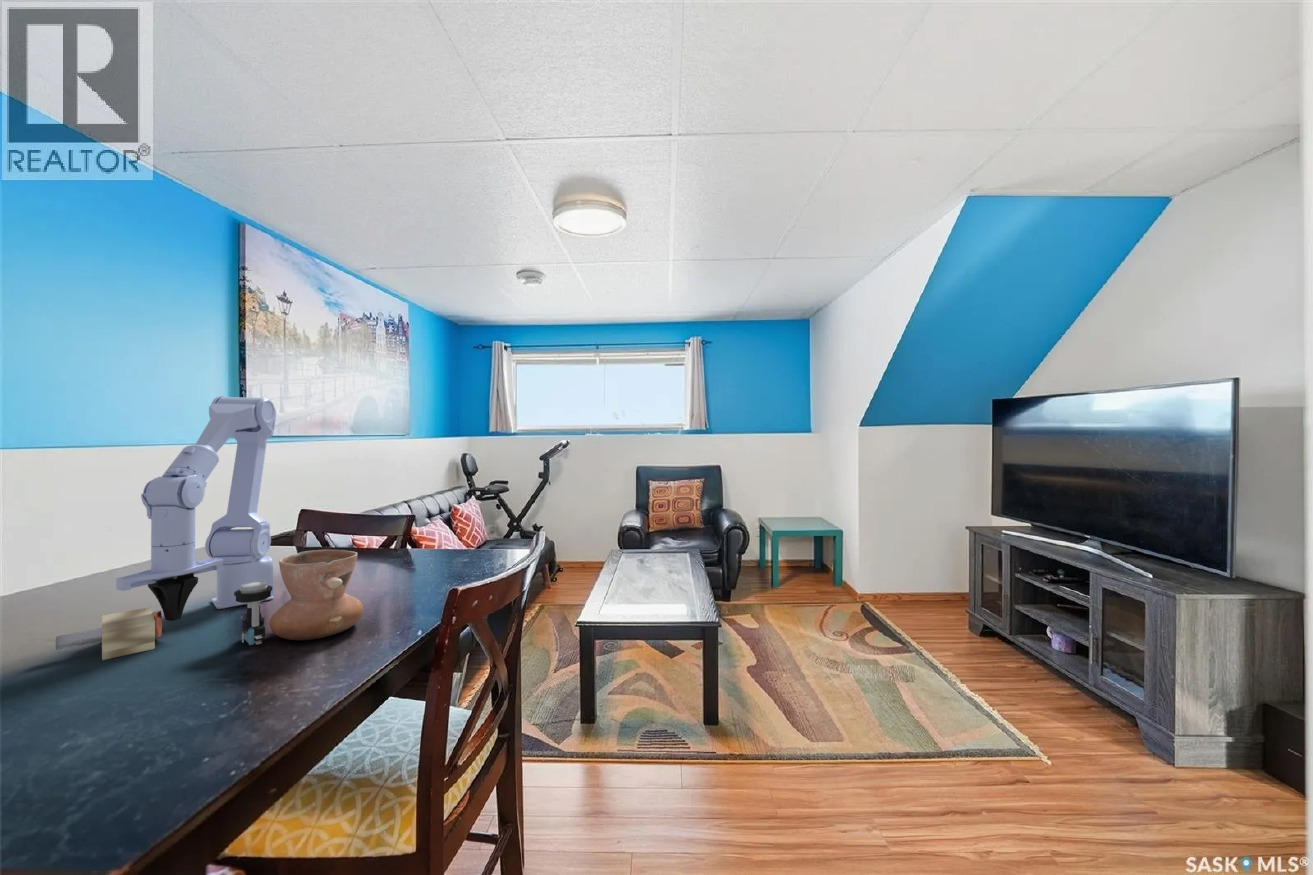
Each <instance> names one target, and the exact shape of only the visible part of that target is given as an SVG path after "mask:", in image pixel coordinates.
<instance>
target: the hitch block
mask: <svg viewBox="0 0 1313 875" xmlns="http://www.w3.org/2000/svg"><path fill="white" fill-rule="evenodd" d="M101 628H102V642H101V659H102V661H106V660H110V659H113V658H117V657H118V658H119V657H123V656H128V655H132V654H136V653H141V652H146V651H151V650H154V649H156V641H155V640H156V637H155V620H154V617H153V609H152V607H151V606H149V607H142V608H138V609H134V610H133V609H132V610H126V611H121V612H120V611H119V612H116V613H108V614H104V615H101Z"/></svg>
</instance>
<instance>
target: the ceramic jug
mask: <svg viewBox="0 0 1313 875" xmlns="http://www.w3.org/2000/svg"><path fill="white" fill-rule="evenodd" d="M357 561H358V552H356V551H352V550H346V549H318V550H315V549H313V550H305V551H300V552H298V553H297V552H296V553H290V554H287V555H285V556H283V557H280V559H279V561H278V565H279V570H280V575H281V579H282V581H283V584H284V586H285V588H286V591H287V592H288V593H289V595H290V597H291V598H290V599H289V600H288V601H287V602H286V603H284V604H283V605H282V606H280V607H279V608H278V609H276V611H275V612H273V614H272V615H271V617H270V619H269V628H270V630H271V632H272V633H273V634H274V635H276V636H277V637H279V638H282V639H285V640H291V641H311V640H317V639H324V638H326V637H330V636H335V635H336V634H337V635H338V634H339V633H342V632H344V631H346V630H348V629H350V628H351V627H353V626H354V625H356V624H357V623H358V622H359V621H360V619H361V618H362V616H363V614H364V609H365V608H364V605H363V602H361V601H360V600H359V599H358V598H357V597H355V596H353V595H350V594H349V593H346V589H347V587H348V585H349V583H350V580H351V578H352V576H353V573H354V571H355V568H356V564H357Z"/></svg>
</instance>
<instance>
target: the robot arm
mask: <svg viewBox="0 0 1313 875" xmlns="http://www.w3.org/2000/svg"><path fill="white" fill-rule="evenodd" d="M276 410H277V409H276V408H275V405H274V403H273V401H272V400H271V399H270V398H269V397H266V396H265V397H263V396H261V397H242V396H241V397H240V396H224V395H223V396H222V395H218V396H216V397H215V398H214V399H213V400H212V401H211V404H210V405H208V415H209V421H208V423H207V424H206V425H205V427H204V429H203V431H202V433H201V435H200V436H199V438H198V439H197V441H196V442H195V444H190V445H187V446H185V447H184V448H182V450H181V451H180V452H179V454H178V455H176V458H175V459H174V460H173V461H172V462H171V464H170V465H169V466H168V467H167V469H166V470H165V472H163V474H162V475H161V476H157V477H154V478H153V479H151V480H150V481H148V482H147V483H146V484H145V486H144V488H143V492H142V493H141V496H140V498H141V501H142V504H143V506H144V507H145V508H146V516H147V518H148V519H149V520H151V521H150V524H151V525H150V526H151V527H150V529H151V530H150V535H151V536H150V562H151V563H150V569H148V570H143V571H139V572H136V573H132V574H130V575H125V576H120V577H116V584H115V585H116V586H115V587H116V590H118V591H121V592H124V591H129V590H131V589H134V588H138V587H143V586H147V588H149V590H150V591H151V593H153V595H154V597H155V598H156V599H157V601H158V603H159V605H160V608H161V610H162V613H163V616H164V620H165V621H169V622H174V621H177V620H181V619H182V617H183V616H182V615H183V612H184V609H185V606H186V603H187V602H188V599H189V597H190V595H191V594H192V592H193V590H194V589H195V587H196V586H197V584H198V583H199V577H198V576H195V575H197V574H198V575H199V574H204V573H207V572H212V571H216V597H213V598H211V602H212V604H213V605H214V606H215V609H217V610H221V609H222V610H223V609H227V608H232V607H239V606H242V605H245V604H241V602H236V596H235V595H234V592H235V591H236V590H239V589H241V585H243V584H245V583H249V582H257V581H264V582H266V585H268V586H272V587H273V588H274V562H273V559H272V557H271V556H268V555H267V553H268V552H269V550H270V547H271V543H272V537H271V530H270V529H271V523H270V522H268V521H267V520H266V519H264V518H263V517H262V516H261V515H259V514H258V507H259V501H260V493H261V486H262V478H263V471H264V467H265V466H264V464H265V460H266V449H267V443H268V439H269V438H273V436H274V431H275V427H276V426H275V425H276V420H277V411H276ZM230 438H233V439H234V441H236V443H237V444H236V451H235V457H234V458H235V459H234V463H233V464H234V465H233V469H232V470H233V471H232V476H231V477H232V478H231V482H230V484H231V485H230V490H229V497H228V503H227V510H226V514H224V515H223V516H222V517H220V518H218V519H216V520H215V521H214V522H212V525H211V529H210V531H209V534H208V536H207V538H206V539H205V544H204V549H205V553H206V555H207V556H208V557H209V559H205V560H204V559H203V560H198V561H196V508H197V507H198V506H199V505H200V504H201V502H202V501H204V497H205V491H206V487H207V484H208V482H207V480H208V478H209V477H210V475H211V473H212V472H213V471H214V469H215V468H216V466H217V465H218V463H219V462H220V458H219V455H218V454H217V453H218V451H220V449H222V447H224V445H225V444H226V443H227V441H229V440H230ZM202 503H203V502H202ZM236 528H239V529H236ZM266 555H267V556H266ZM274 597H275V596H274V589H273V590H272V591H271V596H270V597H268V598H267V599H266V600H265V601H270V600H274Z"/></svg>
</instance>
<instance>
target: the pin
mask: <svg viewBox="0 0 1313 875" xmlns="http://www.w3.org/2000/svg"><path fill="white" fill-rule="evenodd" d="M152 613H153V617H154V620H155V638H158V637H162V634H163V617H162V616H163V615H162V611H161V610H157V611H156V610H155V611H152ZM96 643H102V627H100V628H93V629H89V630H83V631H78V632H76V631H75V632H71V633H67V634H61V635H56V636H55V651H61V650H65V649H71V648H77V647H80V646H86V645H92V644H96Z"/></svg>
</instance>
